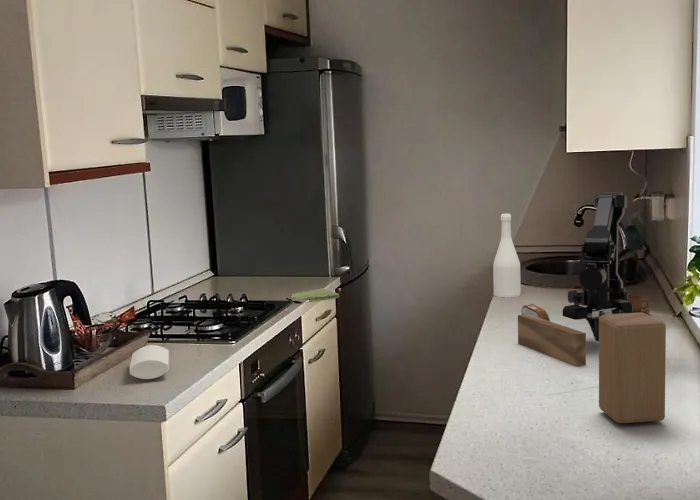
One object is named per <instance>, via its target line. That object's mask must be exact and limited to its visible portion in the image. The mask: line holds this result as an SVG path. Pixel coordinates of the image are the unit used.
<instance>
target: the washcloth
mask: <svg viewBox="0 0 700 500" xmlns="http://www.w3.org/2000/svg"><path fill="white" fill-rule="evenodd" d="M291 294H292V296H291V297H292V298H293V297H295V298H296V300H305V299H306V300H309V303H314V302H320V301H326V300H327V301H328V300H334V299H338V298H340V294H339V293H337V292H334V291H331V290H330V289H326V288H323V287H321V288H318V289H312V290H305V291H299V292H295V293H291Z"/></svg>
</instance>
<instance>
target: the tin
mask: <svg viewBox="0 0 700 500" xmlns="http://www.w3.org/2000/svg"><path fill="white" fill-rule="evenodd" d="M520 313H521V315H522V314H529V315H532V316H535V317H538V318H541V319H544V320H547V321H550V322H551V320H550V317H549V314H548V312H547V311H546V309H545V308H542V307H540V306H538V305H536V304H534V303H531V304H524V305H523V306H522V307H521V312H520Z"/></svg>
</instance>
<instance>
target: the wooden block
mask: <svg viewBox="0 0 700 500" xmlns="http://www.w3.org/2000/svg"><path fill="white" fill-rule="evenodd" d="M666 333H667V326H666V323H665V322H664V321H663V320H661V319H658V318H656V317H654V316H652V315H650V314H648V315H647V314H645V313H642V312H640V313H623V314H606V315H602V316H600V317H599V341H598V407H599V409H600V410H601V411H602V412H603V413H605V414H606V415H607V416H608V417H610V418H611V419H612V420H613V421H615V422H616V423H618V424H629V423H631V424H633V423H645V422H659V421H660V422H661V421H663V420H665V417H666V359H667V357H666V349H667V348H666V345H667V344H666V343H667V342H666V340H667V338H666V335H667V334H666Z"/></svg>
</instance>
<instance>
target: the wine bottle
mask: <svg viewBox="0 0 700 500" xmlns="http://www.w3.org/2000/svg"><path fill="white" fill-rule="evenodd" d="M500 220H501V227H500V228H501V237H500V241H499V244H498V248H497V250H496V254H495V257H494V260H493V265H492V271H493V272H492V273H493V277H492V278H493V281H492V282H493V296H494V297H495V296H497V297H496V298H500V297H505V298H504V299H511V298H510V297H514V298H519V297H520V296H521V291H522V290H521V285H522V284H521V262H520V259H519V256H518V253H517V251H516V248H515V245H514V242H513V238H512V226H511V225H512V223H511V221H512V215H511V213H501V215H500ZM518 296H519V297H518ZM507 297H508V298H507Z"/></svg>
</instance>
